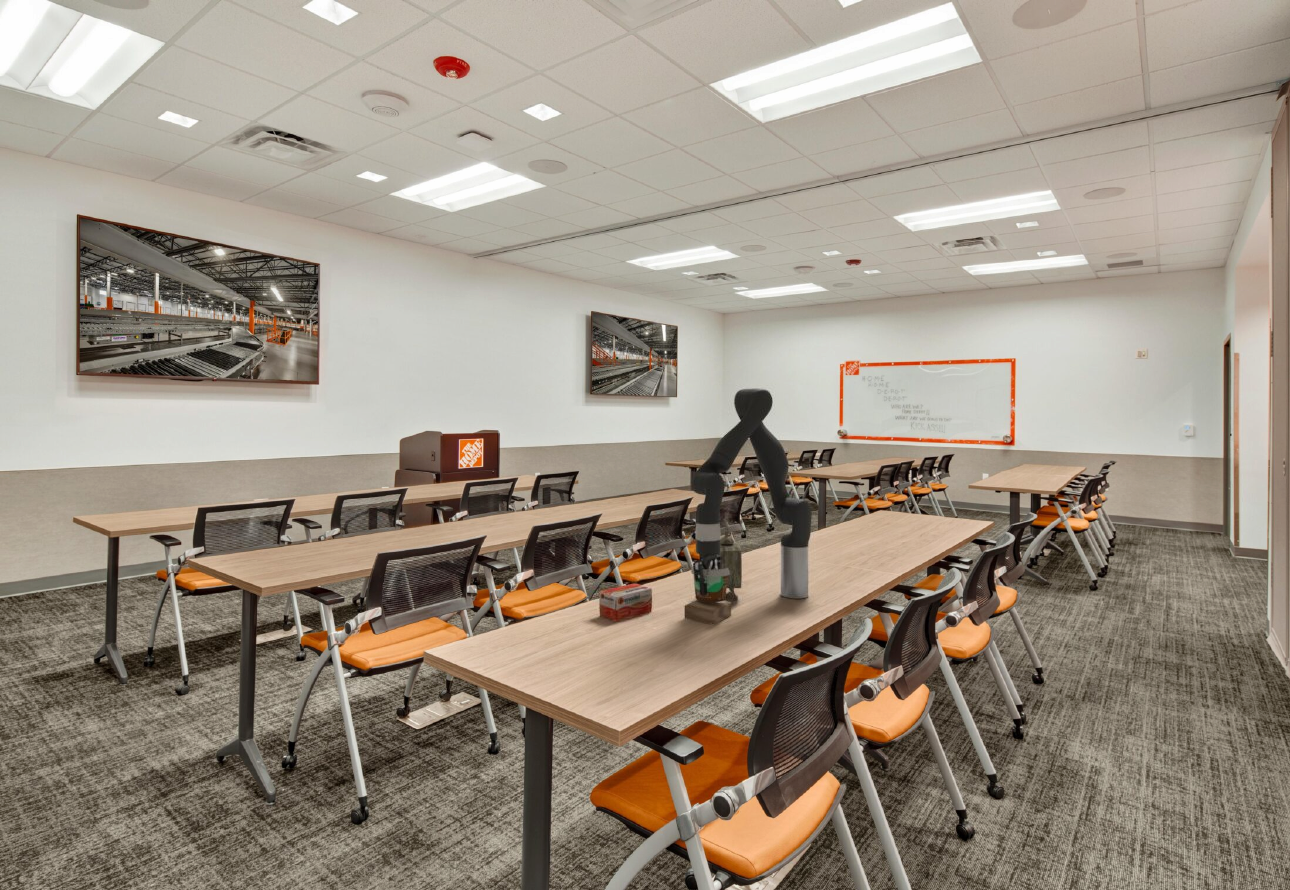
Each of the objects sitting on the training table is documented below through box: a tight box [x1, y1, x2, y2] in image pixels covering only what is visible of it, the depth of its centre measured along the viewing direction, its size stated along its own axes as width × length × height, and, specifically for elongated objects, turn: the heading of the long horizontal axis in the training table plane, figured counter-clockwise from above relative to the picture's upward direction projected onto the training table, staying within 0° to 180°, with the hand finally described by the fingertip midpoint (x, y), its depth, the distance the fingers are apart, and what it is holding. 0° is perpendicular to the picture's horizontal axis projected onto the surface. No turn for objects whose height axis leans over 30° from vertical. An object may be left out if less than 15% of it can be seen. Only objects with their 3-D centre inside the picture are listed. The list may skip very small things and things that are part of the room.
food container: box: [690, 566, 730, 602], centre depth 198 cm, size 12×6×10 cm, turn 62°
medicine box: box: [598, 582, 653, 623], centre depth 202 cm, size 15×8×8 cm, turn 132°
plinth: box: [684, 599, 732, 625], centre depth 199 cm, size 11×10×4 cm
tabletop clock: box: [717, 522, 743, 601], centre depth 222 cm, size 14×9×25 cm, turn 179°
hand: (708, 592), depth 199 cm, fingers closed on food container, 5 cm apart
